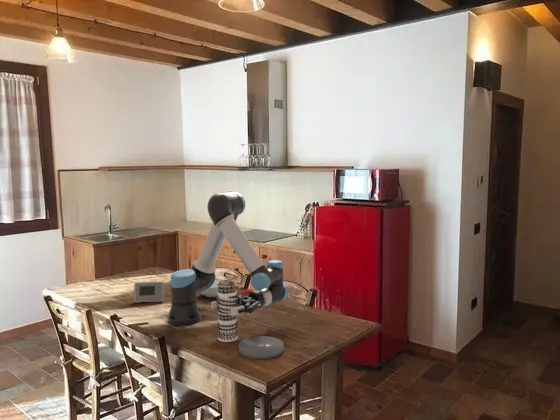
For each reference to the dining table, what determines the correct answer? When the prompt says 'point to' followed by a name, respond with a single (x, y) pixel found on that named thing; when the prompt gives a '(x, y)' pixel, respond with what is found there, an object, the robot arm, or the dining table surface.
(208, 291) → the cereal bowl
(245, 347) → the slate plate
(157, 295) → the digital clock
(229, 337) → the decorative candle
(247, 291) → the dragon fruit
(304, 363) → the dining table surface
